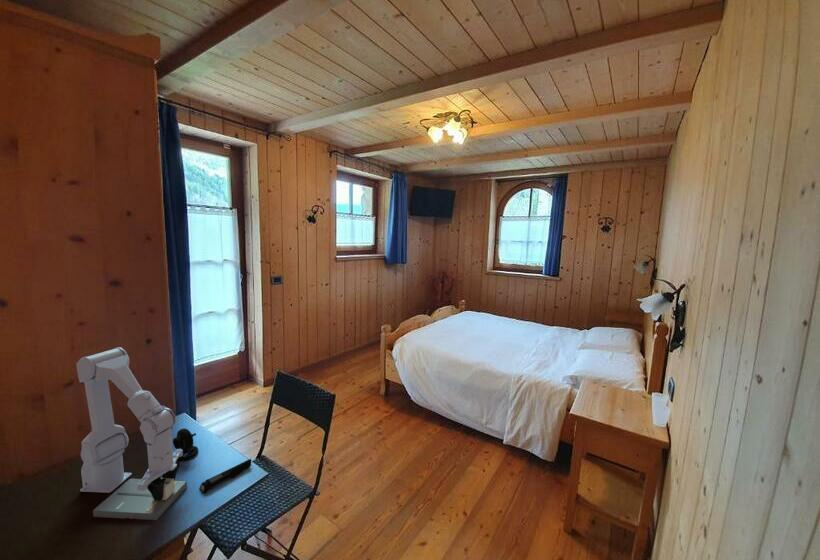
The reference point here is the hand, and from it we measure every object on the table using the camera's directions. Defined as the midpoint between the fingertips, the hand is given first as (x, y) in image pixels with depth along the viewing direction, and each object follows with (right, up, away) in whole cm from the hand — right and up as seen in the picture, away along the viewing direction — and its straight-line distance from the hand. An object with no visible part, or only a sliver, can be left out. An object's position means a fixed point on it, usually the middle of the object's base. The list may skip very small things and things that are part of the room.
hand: (163, 493), depth 96 cm
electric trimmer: (+13, -2, +10) cm, 17 cm away
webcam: (-8, 0, +21) cm, 22 cm away
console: (-7, -3, 0) cm, 7 cm away
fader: (0, 0, 0) cm, 0 cm away
